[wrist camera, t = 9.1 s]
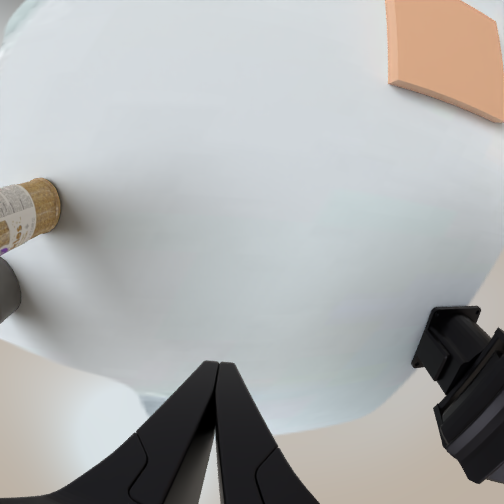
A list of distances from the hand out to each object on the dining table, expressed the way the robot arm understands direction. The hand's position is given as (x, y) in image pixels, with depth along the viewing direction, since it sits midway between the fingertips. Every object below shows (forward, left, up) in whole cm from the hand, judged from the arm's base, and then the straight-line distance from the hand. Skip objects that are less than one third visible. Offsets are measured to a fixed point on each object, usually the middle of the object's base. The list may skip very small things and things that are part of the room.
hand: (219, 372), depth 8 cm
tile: (-15, -17, -12) cm, 26 cm away
